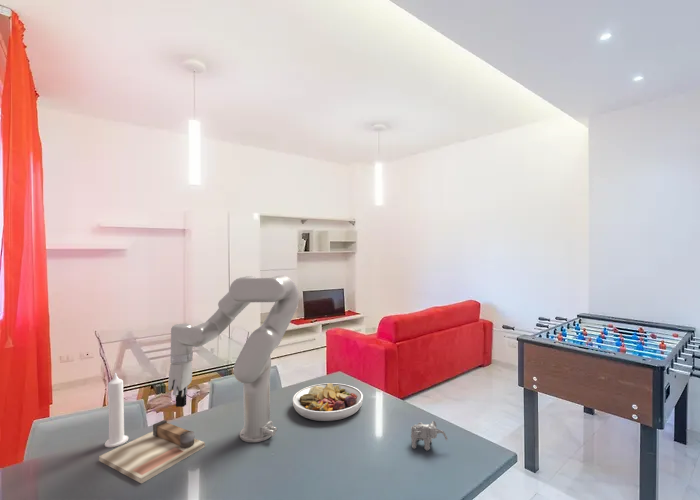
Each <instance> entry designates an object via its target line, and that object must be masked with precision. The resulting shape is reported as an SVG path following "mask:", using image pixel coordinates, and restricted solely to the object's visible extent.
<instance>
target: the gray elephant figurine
mask: <svg viewBox="0 0 700 500" xmlns="http://www.w3.org/2000/svg"><path fill="white" fill-rule="evenodd" d="M410 428H411V429H410V430H411V432H410V438H411V447H412V449H413V450H415V449H417V442H418V441H423V443H424V446H423V447H424V451H426V452H427V451H429V450H430V449H431V444H432V442H433V439H436V438H437V436H438V434H442V435H443V436H444V439H445V441H448V440H449V439H448V436H447V435H446V432H445V431H443V430H441V429H439V428H437V421H435V420H433V421H431V423H429V424H428V423H427V424H424V423H423V422H418V423H417V424H413V425H412V426H410Z"/></svg>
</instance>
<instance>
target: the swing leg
mask: <svg viewBox="0 0 700 500" xmlns="http://www.w3.org/2000/svg"><path fill="white" fill-rule="evenodd" d="M152 431H153V435H154V436H156V437H157V436H158V437H160V438H163V439H165V440H167V441H170V442H172V443H175V444H177V445H180V447H182V448H187V447H190V446H192V445H193V444H194V438H195V432H194V430H188V429H185V428H183V427H180V426H177V425H174V424H171V423H169V422H168V421H167V420H160V421H157V422H156V423H154V424H152Z"/></svg>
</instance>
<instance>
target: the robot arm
mask: <svg viewBox="0 0 700 500" xmlns="http://www.w3.org/2000/svg"><path fill="white" fill-rule="evenodd" d="M299 294H300V293H299V289H298V287H297V284H296V283H295V281H294V280H293V279H292V278H290V277H289V276H287V275H276V276H273V277H255V276H252V275H246V276H242V277H239V278H236V279H235V280H233V281H232V282H231V284H230V286H229V291H228V292H227V293H226V294H224V296H222V298H221V299H220V300H219V301H218V303H217V306H218V308H217V310H215V312H214V313H213V314H212V315H211V316H210V317H209V318H208V319H207V320H206V321H205V322H202V323H200V324H198V325H194V326H193V325H192V324H190V323H178V324H177V323H176V324H174V325H172V327H171V329H170V366H169V371H168V383H167V384H168V386H167V387H168V389H167V390H168V391H169V392H170V391H172V396H174V397H175V407H176V408H182V407H185V406H187V394H188V386H189V385H190V384H191V383H192V381H193V380H192V379H193V363H192V361H193V357H194V356H193V352H194V348H198V347H199V348H200V347H203V346H204V345H206V344H208V343H210V342H211V341H214V340H215V339H216V338H217V337H219V336H220V335H221V334H222V333H223V332H224V331H225V330H226V329H227V328H228V327H229V326H230V325H231V324H232V323H233V321H234V320H235V319H236V317H238V315H239V314H240V313H242V311H243V310H245V309H246V308H247V306H248V305H250V304H251V303H274V304H273V305H272V307H271V308H270V310H269V313H268V315H267V316H266V318H265V320H264V322H263V323H262V325H260V326H259V327H258V328H256V329H254V330H253V332H251V334H249V337H248V338H247V340H246V341H245V343H244V345H243V347H242V349H241V351H240V353H239V355H238V357H237V358H236V360H235V362H234V365H233V369H232V370H233V376H234V378H235V379H236V381H237V382H239V383H240V384H243V390H242V391H243V396H242V397H243V428H242V429H241V430H240V431H239V438H240V439H241V441H243V442H246V443H259V442H264V441H267V440H268V439H270V438H271V437H275V436H276V433H277V432H278V427H276V426H274V422H273V421H272V420H271V371H272V369H271V368H272V358H271V355H272V353H273V351H274V350H275V349H277V348H278V346H279V345H280V344H281V341H282V339H283V337H284V335H285V334H286V331H287V329H288V328H289V326H290V324H291V321H292V319H293V317H294V315H295V313H296V311H297V308H298V305H299V300H300V295H299Z"/></svg>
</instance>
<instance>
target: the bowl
mask: <svg viewBox="0 0 700 500" xmlns="http://www.w3.org/2000/svg"><path fill="white" fill-rule="evenodd" d="M363 402H364V394H363V392H361V390H359V388H357V387H354V386H352V385H348V384H344V383H337V382H336V383H332V382H330V383H328V382H327V383H320V384H319V383H318V384H313V385H310V386H307V387H304V388H302V389H300V390H298V391H297V392H296V393H295V394H294V395H293V396H292V405H293V407H294V410H295V411H296V412H297V413H298V414H299V415H300V416H301V417H303V418H306V419H309V420H312V421H318V422H332V421H333V422H334V421H340V420H342V419H346V418H348V417H350V416H352V415H354V414H355V413H357V412H358V411H359V410H360V408H361V407H362V405H363Z"/></svg>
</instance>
